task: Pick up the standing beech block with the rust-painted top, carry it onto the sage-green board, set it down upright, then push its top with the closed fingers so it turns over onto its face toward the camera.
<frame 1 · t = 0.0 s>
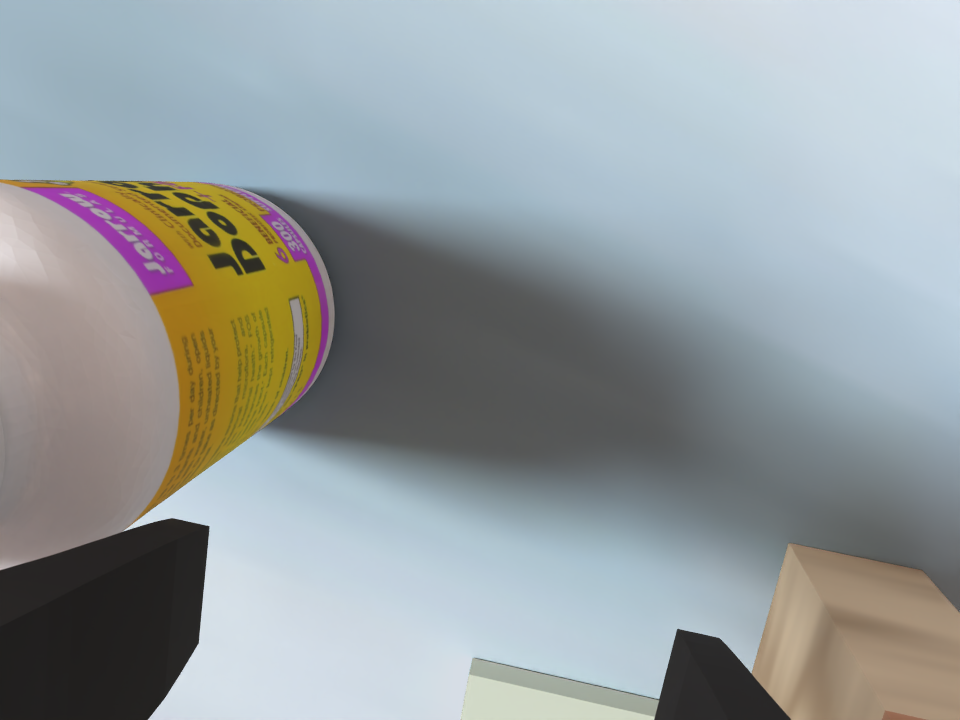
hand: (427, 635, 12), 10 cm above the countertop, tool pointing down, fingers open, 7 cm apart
beech block: (829, 638, 22), on the countertop
supplement bottle: (227, 303, 22), on the countertop
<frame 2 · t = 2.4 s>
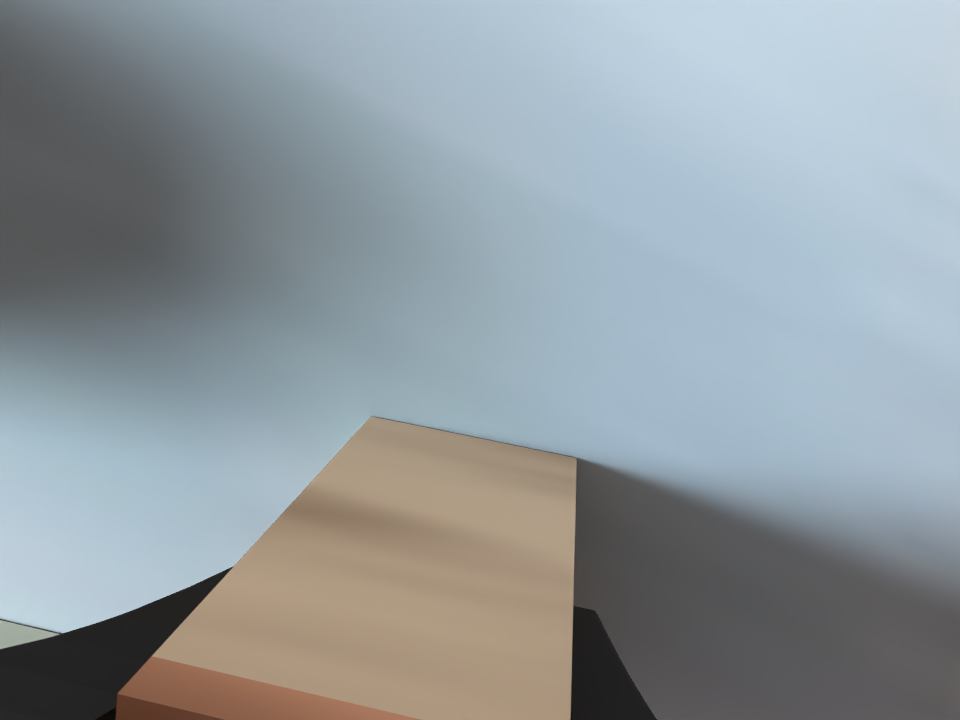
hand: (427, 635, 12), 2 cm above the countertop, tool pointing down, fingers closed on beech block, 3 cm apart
beech block: (449, 571, 14), on the countertop, touching gripper
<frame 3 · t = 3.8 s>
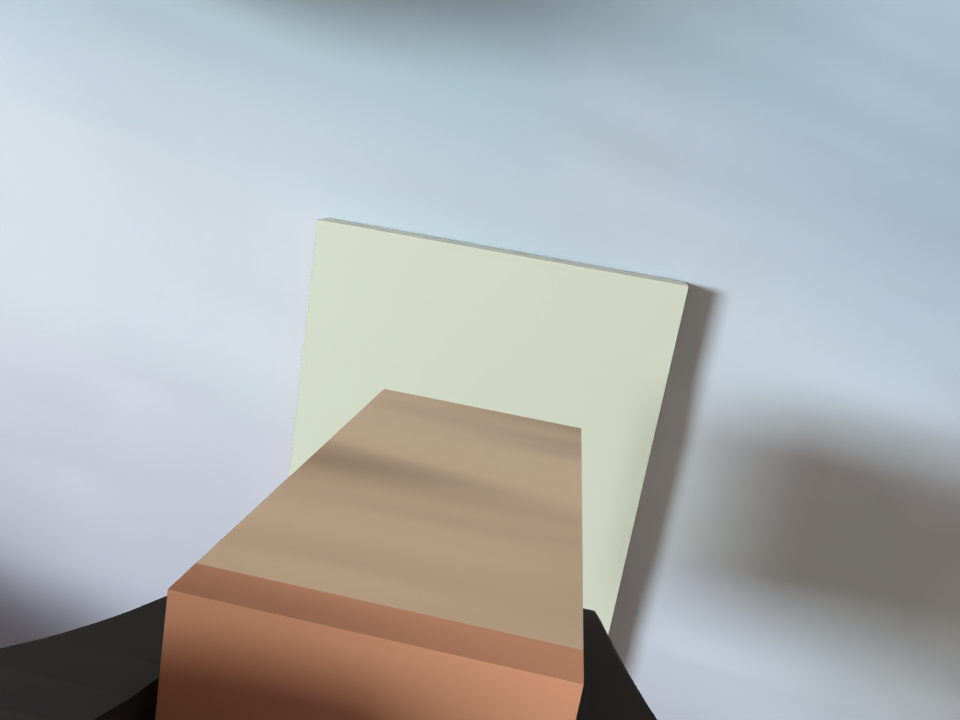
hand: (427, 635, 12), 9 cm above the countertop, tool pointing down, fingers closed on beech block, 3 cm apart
beech block: (457, 540, 14), point 7 cm above the countertop, touching gripper
sage board: (461, 489, 21), on the countertop
when the fingers open (4 cm above the countertop, at t = 5.1 s): beech block stays where it is, resting on sage board.
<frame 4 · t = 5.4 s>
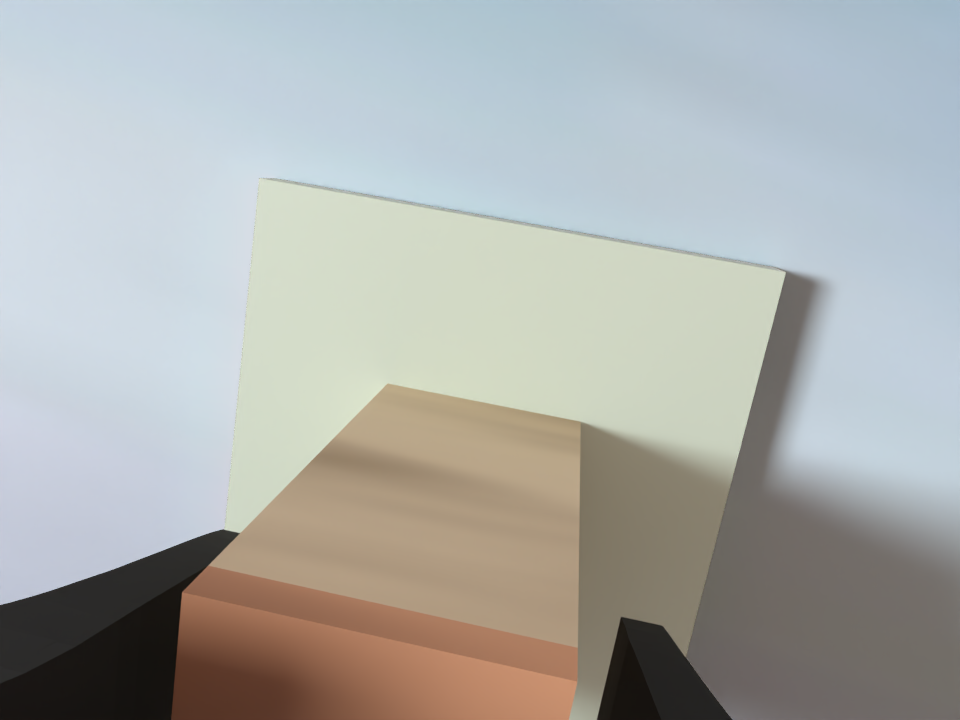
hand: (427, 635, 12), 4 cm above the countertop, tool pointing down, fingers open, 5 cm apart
beech block: (460, 530, 15), point 1 cm above the countertop, touching sage board
sage board: (460, 551, 16), on the countertop
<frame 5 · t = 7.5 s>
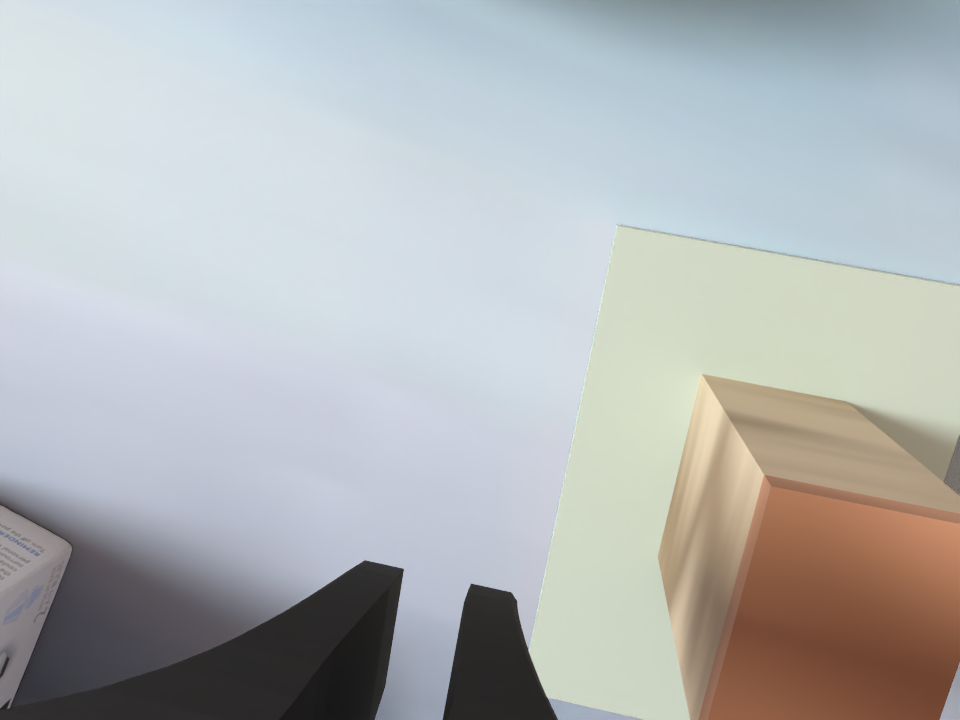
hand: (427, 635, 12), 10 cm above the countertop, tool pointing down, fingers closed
beech block: (748, 481, 20), point 1 cm above the countertop, touching sage board
sage board: (734, 499, 21), on the countertop
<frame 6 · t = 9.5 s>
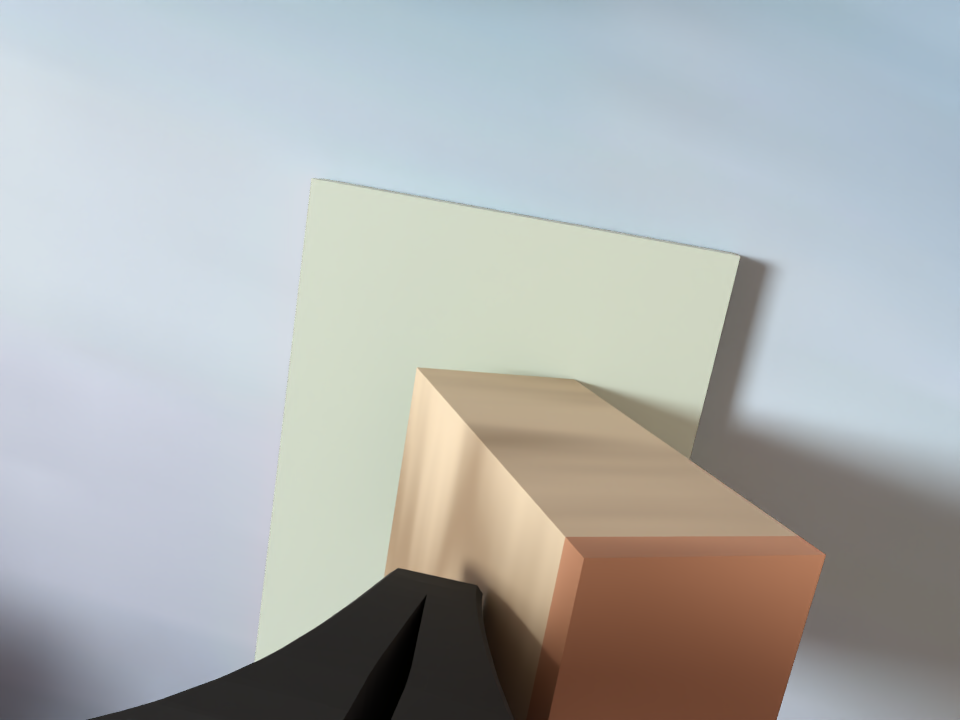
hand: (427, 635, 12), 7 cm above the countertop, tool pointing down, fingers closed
beech block: (478, 485, 17), point 2 cm above the countertop, tilted 26°, touching sage board
sage board: (473, 491, 19), on the countertop
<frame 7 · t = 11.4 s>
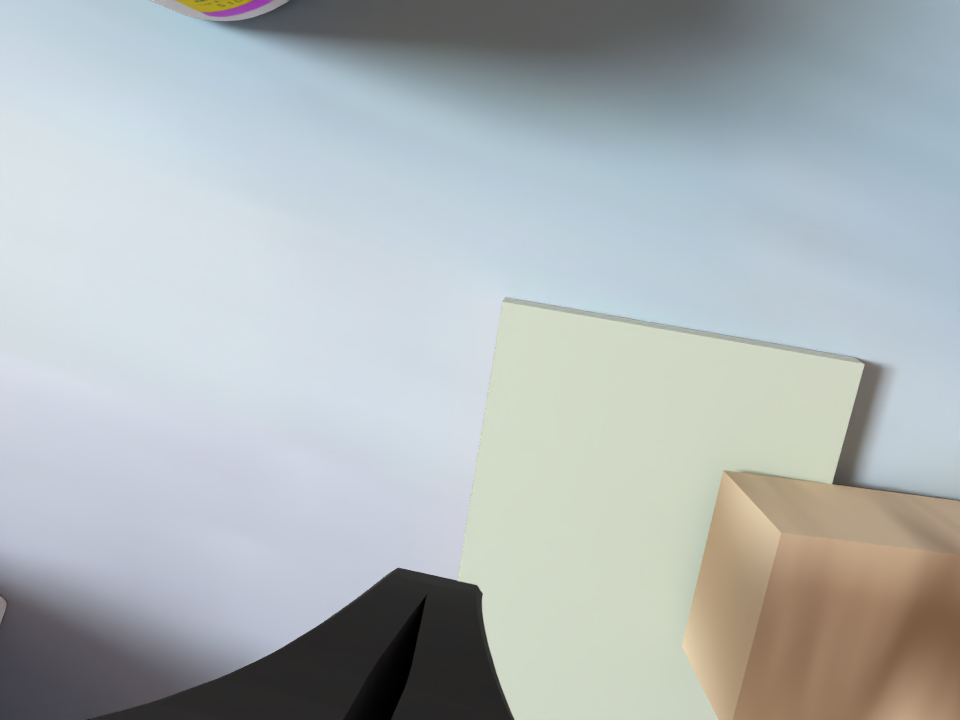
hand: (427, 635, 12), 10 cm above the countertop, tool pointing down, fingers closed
beech block: (725, 596, 19), point 3 cm above the countertop, tilted 100°, touching sage board
sage board: (627, 554, 22), on the countertop
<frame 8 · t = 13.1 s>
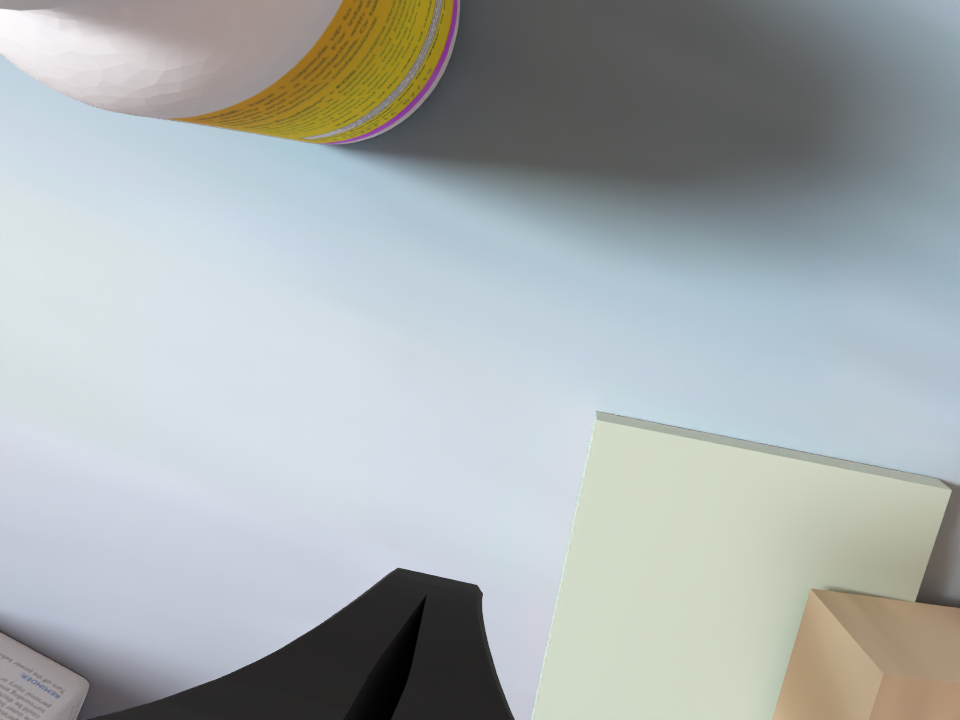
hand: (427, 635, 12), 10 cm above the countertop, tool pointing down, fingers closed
beech block: (815, 717, 19), point 3 cm above the countertop, tilted 100°, touching sage board
sage board: (707, 657, 23), on the countertop
supplement bottle: (337, 12, 20), on the countertop
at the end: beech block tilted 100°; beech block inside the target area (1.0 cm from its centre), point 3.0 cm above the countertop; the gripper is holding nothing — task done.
